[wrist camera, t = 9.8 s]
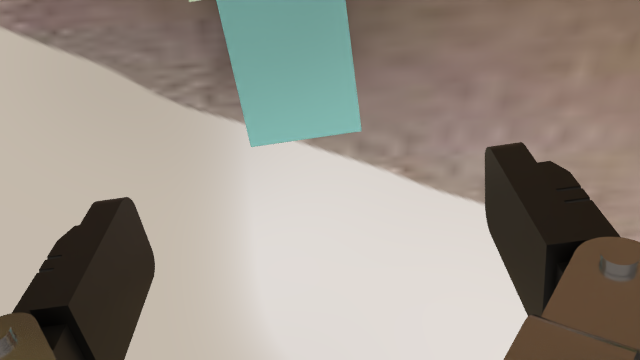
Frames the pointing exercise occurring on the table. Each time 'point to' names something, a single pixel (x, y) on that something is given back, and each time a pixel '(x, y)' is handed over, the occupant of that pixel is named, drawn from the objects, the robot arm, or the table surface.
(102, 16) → the table surface
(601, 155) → the table surface
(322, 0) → the teal block
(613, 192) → the table surface
